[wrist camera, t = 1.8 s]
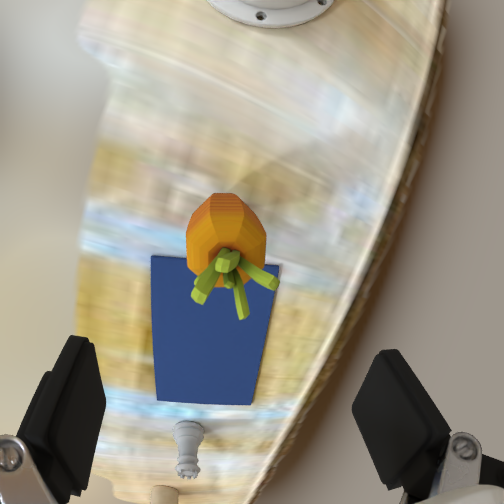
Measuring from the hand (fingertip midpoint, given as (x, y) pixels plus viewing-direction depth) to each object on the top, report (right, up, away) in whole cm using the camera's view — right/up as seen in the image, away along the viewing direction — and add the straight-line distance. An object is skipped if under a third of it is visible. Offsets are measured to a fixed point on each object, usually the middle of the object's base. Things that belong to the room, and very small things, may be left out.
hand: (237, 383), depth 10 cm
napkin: (-4, -6, +24) cm, 25 cm away
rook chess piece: (-9, -20, +30) cm, 38 cm away
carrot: (-2, +9, +18) cm, 20 cm away
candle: (-17, -43, +39) cm, 61 cm away
